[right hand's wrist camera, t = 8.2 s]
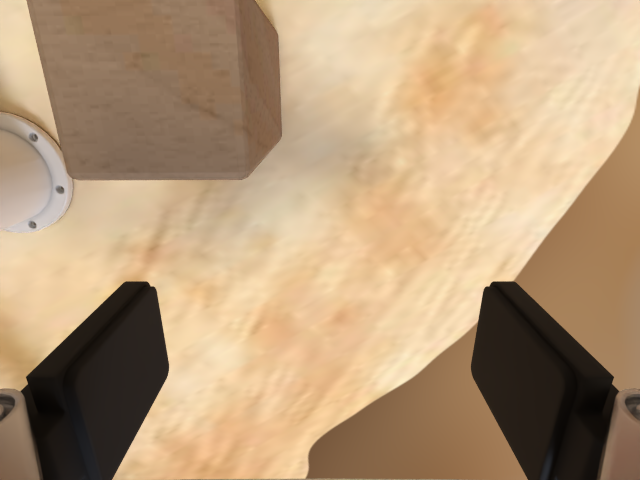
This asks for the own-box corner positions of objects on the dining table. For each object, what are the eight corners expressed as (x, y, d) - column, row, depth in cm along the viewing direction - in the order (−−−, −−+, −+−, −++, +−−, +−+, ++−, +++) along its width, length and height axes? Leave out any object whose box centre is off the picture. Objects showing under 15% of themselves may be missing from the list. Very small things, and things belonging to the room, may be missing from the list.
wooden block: (171, 30, 36) (12, -37, 18) (278, 30, 36) (234, -38, 18) (184, 140, 40) (64, 182, 21) (282, 140, 40) (249, 181, 21)
